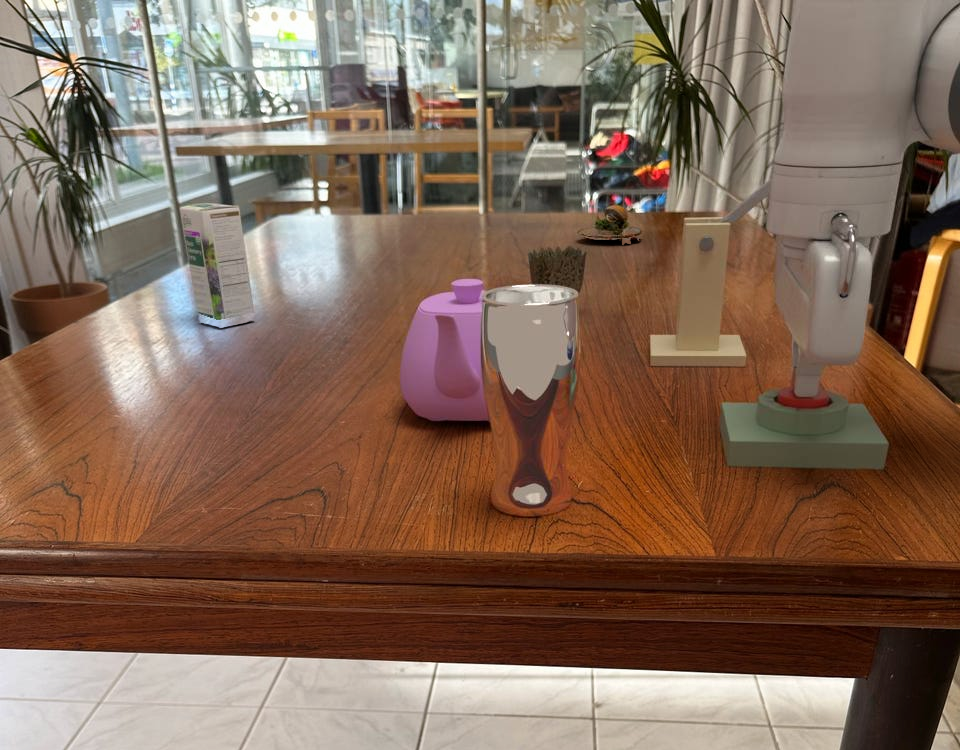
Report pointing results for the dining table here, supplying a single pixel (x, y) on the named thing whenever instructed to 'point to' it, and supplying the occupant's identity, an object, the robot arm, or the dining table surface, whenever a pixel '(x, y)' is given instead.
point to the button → (802, 399)
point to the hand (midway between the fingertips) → (803, 392)
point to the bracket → (700, 303)
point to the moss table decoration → (613, 223)
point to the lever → (746, 204)
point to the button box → (801, 435)
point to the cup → (558, 267)
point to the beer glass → (530, 393)
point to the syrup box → (217, 260)
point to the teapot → (446, 356)
